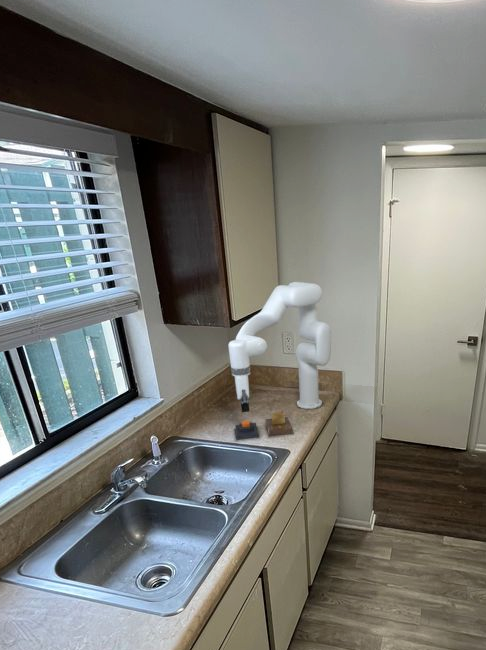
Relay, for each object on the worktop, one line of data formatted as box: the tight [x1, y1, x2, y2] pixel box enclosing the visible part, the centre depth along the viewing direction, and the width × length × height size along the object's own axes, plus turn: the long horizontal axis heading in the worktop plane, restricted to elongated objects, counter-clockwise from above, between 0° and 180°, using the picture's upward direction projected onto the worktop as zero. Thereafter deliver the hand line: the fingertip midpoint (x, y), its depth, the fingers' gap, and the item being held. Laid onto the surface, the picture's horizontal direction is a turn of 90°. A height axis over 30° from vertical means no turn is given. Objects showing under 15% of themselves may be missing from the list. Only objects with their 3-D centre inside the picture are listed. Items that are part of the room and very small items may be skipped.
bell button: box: [241, 420, 251, 427], centre depth 187 cm, size 4×4×2 cm
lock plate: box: [265, 416, 293, 438], centre depth 192 cm, size 12×10×3 cm
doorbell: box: [234, 421, 259, 441], centre depth 188 cm, size 11×9×4 cm
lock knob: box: [270, 410, 286, 425], centre depth 190 cm, size 6×2×5 cm, turn 105°
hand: (245, 411), depth 185 cm, fingers closed
